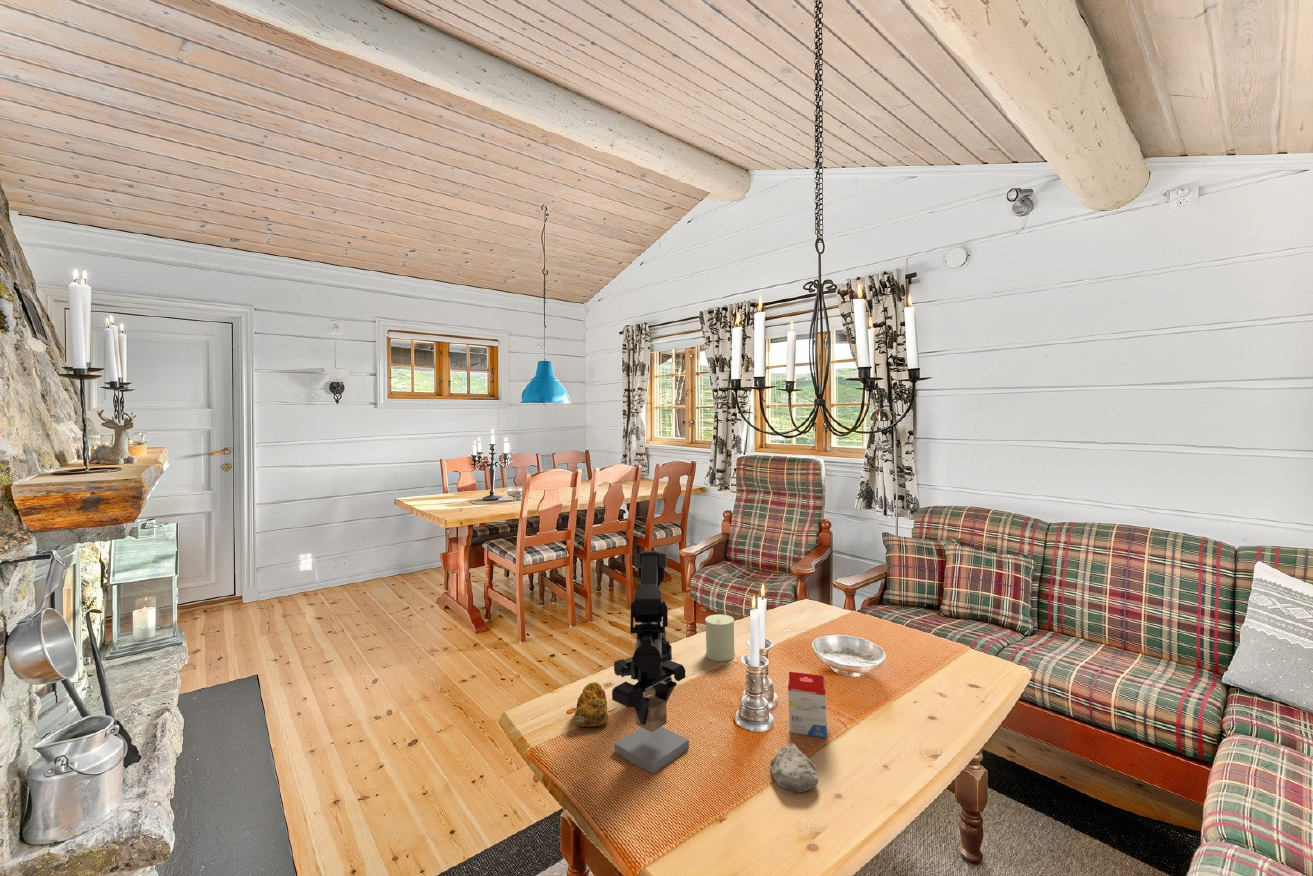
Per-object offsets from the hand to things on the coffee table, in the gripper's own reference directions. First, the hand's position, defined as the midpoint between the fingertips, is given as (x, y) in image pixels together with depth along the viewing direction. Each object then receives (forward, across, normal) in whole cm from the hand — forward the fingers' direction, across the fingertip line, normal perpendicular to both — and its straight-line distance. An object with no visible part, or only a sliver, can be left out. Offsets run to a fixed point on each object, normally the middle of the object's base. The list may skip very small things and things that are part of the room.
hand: (651, 719), depth 124 cm
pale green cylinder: (+8, -51, -18) cm, 55 cm away
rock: (+8, 0, -21) cm, 23 cm away
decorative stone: (+7, -12, +29) cm, 32 cm away
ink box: (+7, -30, +23) cm, 38 cm away
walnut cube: (+1, 0, 0) cm, 1 cm away
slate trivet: (+7, 0, 0) cm, 7 cm away
